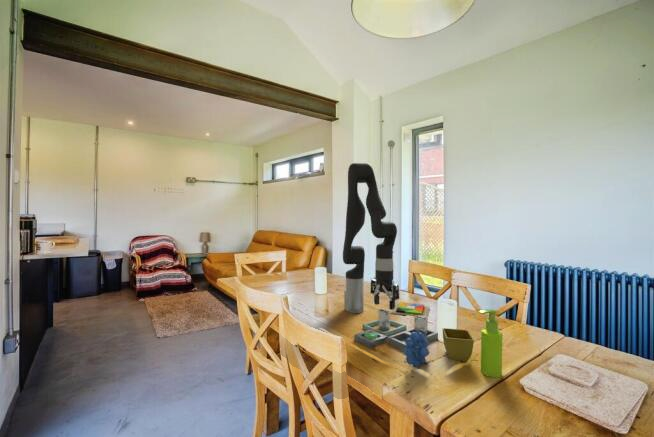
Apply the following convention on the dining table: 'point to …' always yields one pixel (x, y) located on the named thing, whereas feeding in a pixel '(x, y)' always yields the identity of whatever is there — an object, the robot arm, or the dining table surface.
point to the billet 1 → (384, 320)
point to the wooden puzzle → (410, 309)
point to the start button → (370, 335)
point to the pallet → (400, 338)
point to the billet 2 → (421, 324)
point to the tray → (399, 328)
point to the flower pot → (458, 344)
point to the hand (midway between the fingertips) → (384, 306)
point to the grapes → (416, 349)
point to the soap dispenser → (491, 346)
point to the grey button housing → (370, 343)
